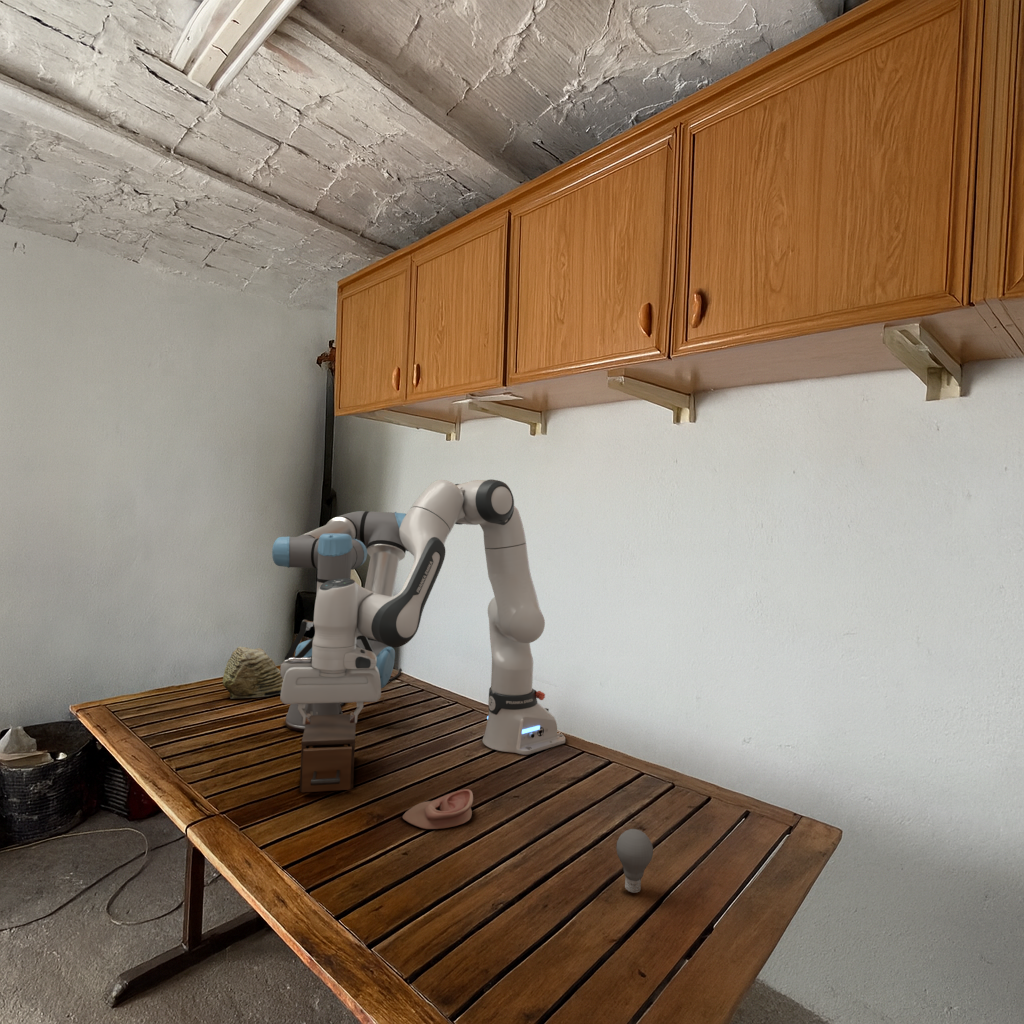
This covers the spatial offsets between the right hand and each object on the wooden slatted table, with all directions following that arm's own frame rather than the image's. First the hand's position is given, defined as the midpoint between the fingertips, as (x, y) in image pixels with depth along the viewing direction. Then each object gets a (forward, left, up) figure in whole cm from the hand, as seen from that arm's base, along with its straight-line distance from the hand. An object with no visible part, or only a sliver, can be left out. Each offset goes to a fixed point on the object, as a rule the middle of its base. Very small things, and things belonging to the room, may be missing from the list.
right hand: (330, 722), depth 132 cm
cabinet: (-3, -12, -16) cm, 20 cm away
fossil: (+3, -78, -16) cm, 79 cm away
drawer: (-2, -6, -15) cm, 17 cm away
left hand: (-4, -16, +2) cm, 16 cm away
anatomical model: (-18, +16, -16) cm, 29 cm away
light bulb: (-37, +53, -16) cm, 67 cm away
